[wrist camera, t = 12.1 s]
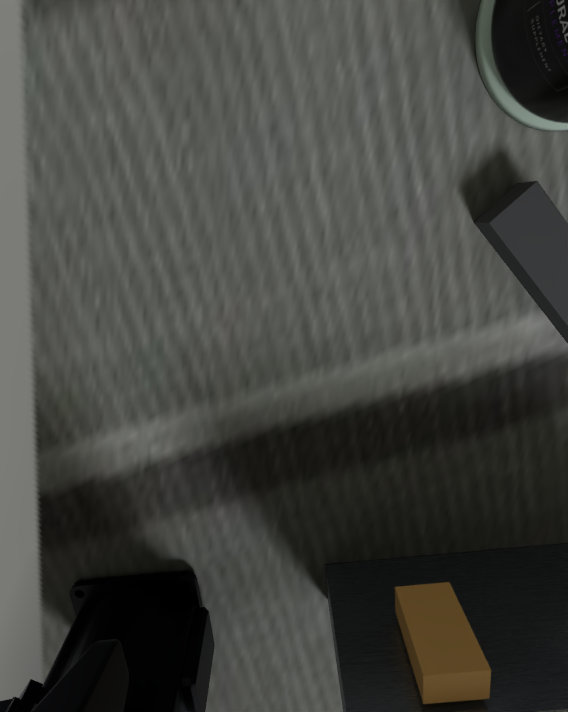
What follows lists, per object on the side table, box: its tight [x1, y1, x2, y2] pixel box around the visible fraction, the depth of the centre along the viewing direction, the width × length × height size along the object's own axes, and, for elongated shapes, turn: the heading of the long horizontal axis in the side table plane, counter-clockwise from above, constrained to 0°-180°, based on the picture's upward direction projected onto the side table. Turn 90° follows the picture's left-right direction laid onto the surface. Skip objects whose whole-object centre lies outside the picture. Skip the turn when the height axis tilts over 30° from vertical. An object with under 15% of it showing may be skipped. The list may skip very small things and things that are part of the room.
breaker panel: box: [325, 544, 568, 712], centre depth 19 cm, size 16×3×10 cm, turn 95°
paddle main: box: [395, 582, 491, 704], centre depth 18 cm, size 2×1×4 cm, turn 95°
